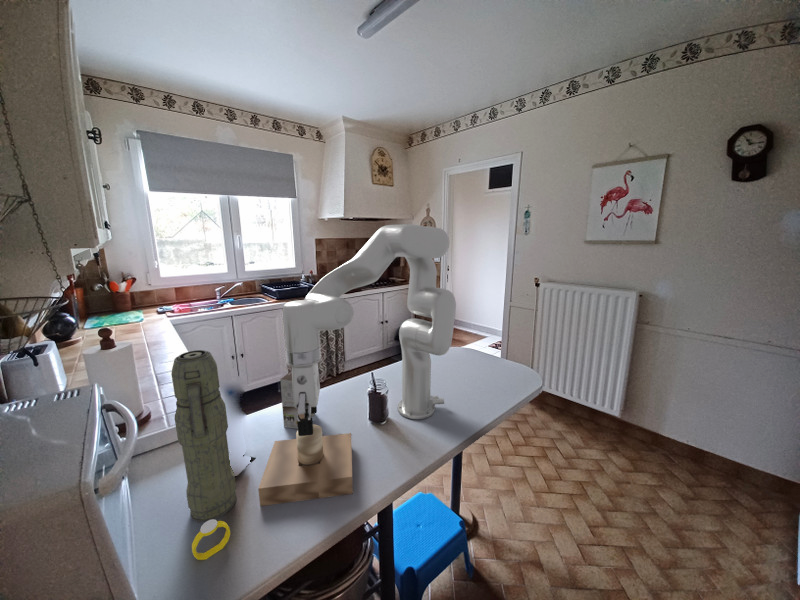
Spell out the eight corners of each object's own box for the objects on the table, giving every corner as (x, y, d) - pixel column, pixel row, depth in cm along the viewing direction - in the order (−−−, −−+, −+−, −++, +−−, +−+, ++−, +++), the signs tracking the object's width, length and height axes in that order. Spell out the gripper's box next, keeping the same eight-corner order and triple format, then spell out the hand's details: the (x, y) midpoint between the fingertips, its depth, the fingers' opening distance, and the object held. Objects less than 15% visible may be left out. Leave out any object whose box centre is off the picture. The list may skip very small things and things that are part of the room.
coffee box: (302, 430, 94) (298, 381, 91) (283, 427, 95) (279, 379, 92) (316, 413, 103) (313, 368, 99) (298, 411, 104) (295, 366, 101)
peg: (325, 461, 80) (323, 423, 78) (323, 479, 74) (321, 438, 72) (300, 464, 79) (297, 425, 77) (297, 482, 73) (293, 441, 71)
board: (351, 447, 86) (351, 433, 85) (352, 493, 71) (352, 476, 70) (276, 455, 83) (274, 441, 82) (260, 506, 67) (258, 488, 66)
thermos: (191, 537, 60) (163, 370, 53) (189, 496, 70) (165, 350, 63) (241, 514, 65) (222, 359, 58) (233, 479, 75) (215, 341, 68)
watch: (198, 569, 55) (190, 544, 53) (193, 558, 57) (186, 533, 55) (234, 544, 59) (228, 519, 57) (228, 534, 61) (223, 510, 59)
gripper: (316, 369, 63) (321, 445, 66) (323, 341, 79) (326, 403, 83) (278, 372, 61) (284, 449, 65) (292, 342, 78) (297, 405, 82)
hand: (308, 423), depth 74 cm, fingers open, 8 cm apart
